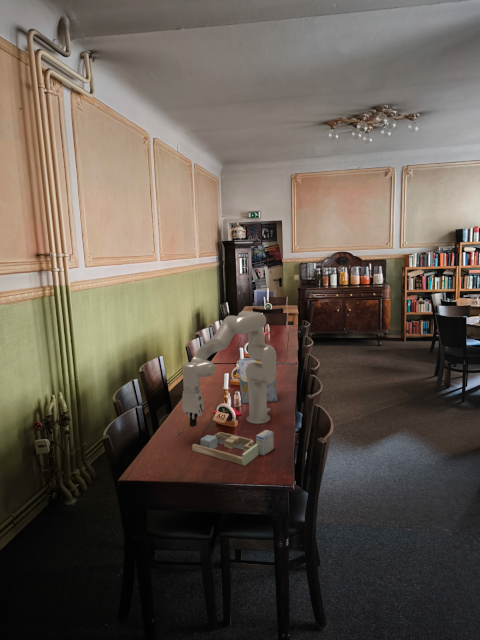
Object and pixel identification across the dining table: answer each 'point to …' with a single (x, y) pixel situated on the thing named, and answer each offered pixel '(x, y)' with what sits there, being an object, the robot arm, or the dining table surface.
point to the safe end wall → (250, 454)
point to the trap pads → (239, 446)
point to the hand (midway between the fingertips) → (193, 425)
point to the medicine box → (265, 442)
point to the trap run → (229, 443)
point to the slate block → (209, 441)
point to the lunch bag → (270, 388)
